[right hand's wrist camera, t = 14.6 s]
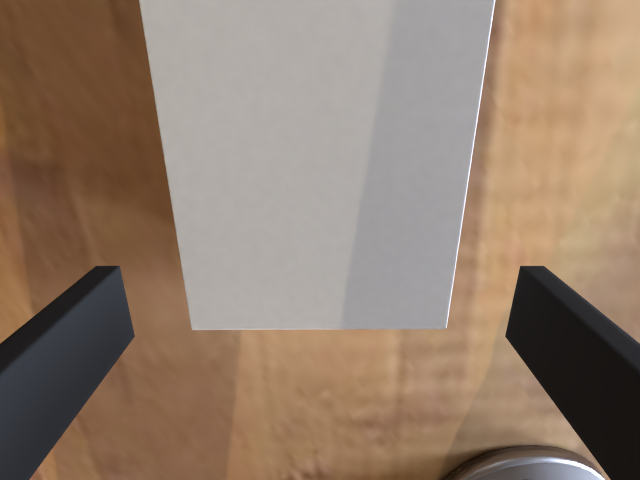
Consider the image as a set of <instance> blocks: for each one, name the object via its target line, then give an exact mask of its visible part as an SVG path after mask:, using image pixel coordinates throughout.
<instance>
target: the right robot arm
mask: <svg viewBox="0 0 640 480" xmlns="http://www.w3.org/2000/svg"><path fill="white" fill-rule="evenodd" d="M134 337H135V336H134V331H133V326H132V322H131V317H130V312H129V308H128V303H127V298H126V294H125V289H124V284H123V280H122V275H121V270H120V266H96V267H94V268H93V269H92V270H91V271H89V272H88V273H87V274H86V275H85V276H83V277H82V278H81V279H80V280H78V281H77V282H76V283H75V284H73V285H72V286H71V287H70V288H68V289H67V290H66V291H65V292H64V293H62V294H61V295H60V296H59V297H57V298H56V299H55V300H54V301H52V302H51V303H50V304H49V305H48V306H46V307H45V308H44V309H43V310H41V311H40V312H39V313H38V314H36V315H35V316H34V317H33V318H31V319H30V320H29V321H28V322H27V323H25V324H24V325H23V326H22V327H20V328H19V329H18V330H17V331H15V332H14V333H13V334H12V335H11V336H9V337H8V338H7V339H6V340H4V341H3V342H2V343H1V344H0V480H29V479H30V478H31V476H32V475H33V474H34V472H35V471H36V470H37V468H38V467H39V466H40V464H41V463H42V461H43V460H44V459H45V457H46V456H47V455H48V453H49V452H50V451H51V449H52V448H53V447H54V445H55V444H56V442H57V441H58V440H59V438H60V437H61V436H62V434H63V433H64V432H65V430H66V429H67V428H68V426H69V425H70V423H71V422H72V421H73V419H74V418H75V417H76V415H77V414H78V413H79V411H80V410H81V409H82V407H83V406H84V404H85V403H86V402H87V400H88V399H89V398H90V396H91V395H92V394H93V392H94V391H95V389H96V388H97V387H98V385H99V384H100V383H101V381H102V380H103V379H104V377H105V376H106V375H107V373H108V372H109V370H110V369H111V368H112V366H113V365H114V364H115V362H116V361H117V360H118V358H119V357H120V356H121V354H122V353H123V351H124V350H125V349H126V347H127V346H128V345H129V343H130V342H131V341H132V339H133V338H134ZM505 337H506V338H507V339H508V341H509V342H510V343H511V345H512V346H513V347H514V349H515V350H516V351H517V353H518V354H519V356H520V357H521V358H522V360H523V361H524V362H525V364H526V365H527V366H528V368H529V369H530V370H531V372H532V373H533V375H534V376H535V377H536V379H537V380H538V381H539V383H540V384H541V385H542V387H543V388H544V389H545V391H546V392H547V394H548V395H549V396H550V398H551V399H552V400H553V402H554V403H555V404H556V406H557V407H558V409H559V410H560V411H561V413H562V414H563V415H564V417H565V418H566V419H567V421H568V422H569V423H570V425H571V426H572V428H573V429H574V430H575V432H576V433H577V434H578V436H579V437H580V438H581V440H582V441H583V442H584V444H585V445H586V447H587V448H588V449H589V451H590V452H591V453H592V455H593V456H594V457H595V459H596V460H597V461H598V463H599V464H600V466H601V467H602V468H603V470H604V471H605V472H606V474H607V475H608V476H609V478H610V479H611V480H640V344H639V343H638V342H637V341H636V340H634V339H633V338H632V337H631V336H629V335H628V334H627V333H626V332H625V331H623V330H622V329H621V328H620V327H618V326H617V325H616V324H615V323H613V322H612V321H611V320H610V319H609V318H607V317H606V316H605V315H604V314H602V313H601V312H600V311H599V310H597V309H596V308H595V307H594V306H592V305H591V304H590V303H589V302H588V301H586V300H585V299H584V298H583V297H581V296H580V295H579V294H578V293H576V292H575V291H574V290H573V289H572V288H570V287H569V286H568V285H567V284H565V283H564V282H563V281H562V280H560V279H559V278H558V277H557V276H555V275H554V274H553V273H552V272H551V271H549V270H548V269H547V268H546V267H544V266H520V270H519V275H518V280H517V284H516V289H515V294H514V298H513V303H512V308H511V312H510V317H509V322H508V326H507V331H506V336H505ZM445 480H605V479H604V477H603V476H602V475H601V473H600V472H599V470H598V469H597V468H596V467H595V466H594V465H593V464H592V463H591V462H590V461H588V460H587V459H586V458H584V457H582V456H580V455H579V454H576V453H574V452H571V451H568V450H565V449H561V448H557V447H550V446H518V447H511V448H506V449H501V450H497V451H494V452H491V453H488V454H485V455H482V456H480V457H478V458H475V459H473V460H471V461H469V462H467V463H466V464H464V465H462V466H461V467H459V468H458V469H456V470H455V471H454V472H452V473H451V474H450V475H449V476H448V477H447V478H446V479H445Z"/></svg>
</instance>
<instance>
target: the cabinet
mask: <svg viewBox="0 0 640 480" xmlns="http://www.w3.org/2000/svg"><path fill="white" fill-rule="evenodd" d="M139 4H140V10H141V16H142V22H143V29H144V35H145V41H146V47H147V54H148V60H149V66H150V73H151V79H152V85H153V91H154V98H155V104H156V110H157V116H158V123H159V129H160V135H161V141H162V148H163V154H164V160H165V166H166V173H167V179H168V185H169V191H170V198H171V204H172V210H173V217H174V223H175V229H176V235H177V242H178V248H179V254H180V260H181V267H182V273H183V279H184V285H185V292H186V298H187V304H188V310H189V317H190V323H191V329H192V330H281V329H446V327H447V320H448V314H449V307H450V300H451V293H452V287H453V280H454V273H455V267H456V260H457V253H458V246H459V240H460V233H461V226H462V219H463V213H464V206H465V199H466V193H467V186H468V179H469V172H470V166H471V159H472V152H473V145H474V139H475V132H476V125H477V119H478V112H479V105H480V98H481V92H482V85H483V78H484V71H485V65H486V58H487V51H488V45H489V38H490V31H491V24H492V18H493V11H494V4H495V0H139Z"/></svg>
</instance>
